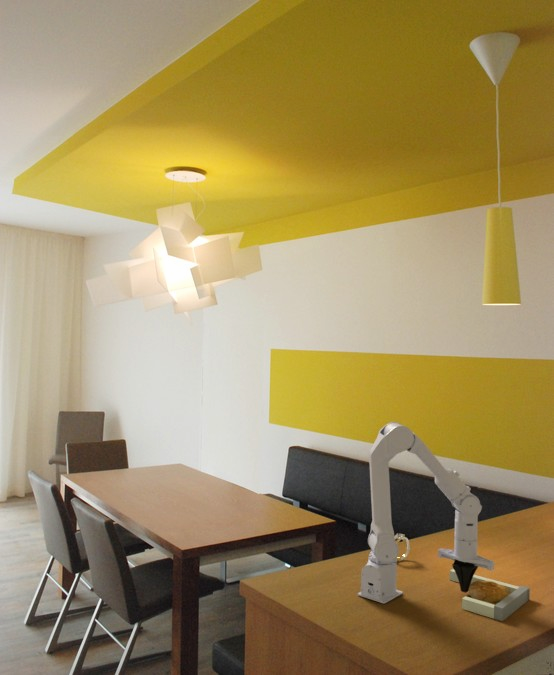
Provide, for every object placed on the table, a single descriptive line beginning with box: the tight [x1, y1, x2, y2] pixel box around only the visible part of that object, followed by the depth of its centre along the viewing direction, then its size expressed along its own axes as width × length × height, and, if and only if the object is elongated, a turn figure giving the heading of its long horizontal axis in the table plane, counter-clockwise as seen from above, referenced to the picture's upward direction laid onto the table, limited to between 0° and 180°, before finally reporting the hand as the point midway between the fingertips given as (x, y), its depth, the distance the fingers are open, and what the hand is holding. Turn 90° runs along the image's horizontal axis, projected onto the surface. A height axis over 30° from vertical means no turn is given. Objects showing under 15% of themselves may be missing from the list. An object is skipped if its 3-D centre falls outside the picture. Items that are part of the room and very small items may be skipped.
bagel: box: [468, 580, 510, 605], centre depth 156 cm, size 10×11×5 cm
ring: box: [394, 533, 411, 562], centre depth 185 cm, size 7×3×8 cm, turn 116°
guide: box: [448, 568, 531, 622], centre depth 158 cm, size 18×21×3 cm
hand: (464, 591), depth 159 cm, fingers closed
